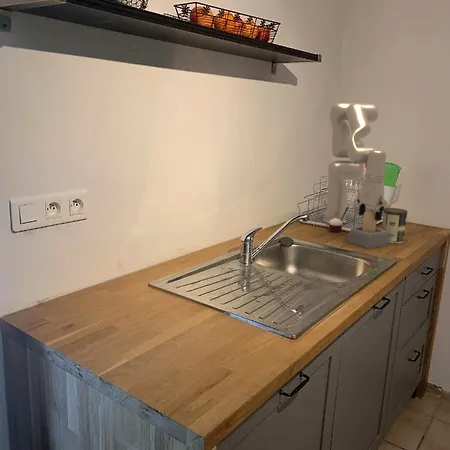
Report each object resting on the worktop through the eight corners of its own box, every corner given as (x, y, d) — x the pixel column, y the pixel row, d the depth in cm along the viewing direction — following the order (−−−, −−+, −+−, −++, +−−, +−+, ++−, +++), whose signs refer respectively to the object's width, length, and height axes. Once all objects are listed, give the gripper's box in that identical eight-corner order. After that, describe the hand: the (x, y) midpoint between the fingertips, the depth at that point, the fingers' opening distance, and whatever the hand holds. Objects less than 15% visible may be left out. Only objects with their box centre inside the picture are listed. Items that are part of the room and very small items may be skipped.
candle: (367, 230, 222) (369, 208, 220) (377, 233, 218) (380, 210, 215) (359, 231, 219) (361, 209, 217) (369, 234, 215) (372, 212, 212)
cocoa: (324, 232, 238) (325, 207, 235) (328, 229, 244) (329, 205, 241) (344, 234, 234) (345, 209, 231) (348, 231, 239) (348, 206, 236)
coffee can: (399, 237, 230) (403, 208, 227) (407, 244, 220) (411, 213, 217) (377, 237, 231) (380, 207, 227) (383, 243, 221) (387, 212, 217)
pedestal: (347, 241, 222) (349, 228, 220) (367, 238, 228) (369, 225, 226) (367, 248, 212) (369, 234, 210) (387, 245, 217) (389, 231, 216)
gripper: (353, 175, 218) (349, 213, 223) (383, 183, 204) (378, 223, 208) (365, 174, 222) (361, 212, 226) (396, 181, 207) (391, 221, 212)
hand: (369, 217), depth 217 cm, fingers open, 9 cm apart
